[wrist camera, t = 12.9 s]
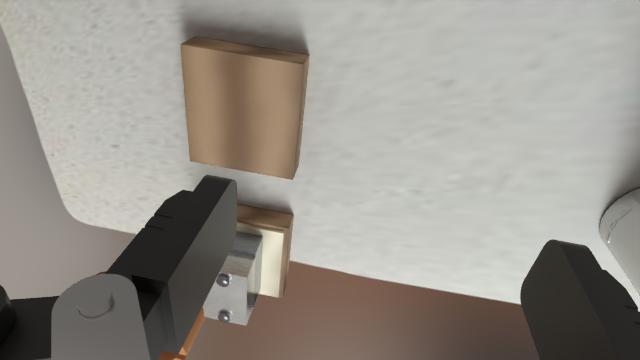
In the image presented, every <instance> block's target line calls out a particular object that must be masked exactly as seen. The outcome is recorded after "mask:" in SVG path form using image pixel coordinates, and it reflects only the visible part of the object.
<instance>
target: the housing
mask: <svg viewBox="0 0 640 360" xmlns="http://www.w3.org/2000/svg"><path fill="white" fill-rule="evenodd" d="M262 248H263V236H261V235H256V234H251V233H246V232H240V231H236V236H235V240H234V243H233V246H232V248H231V250H230V252H229V254H228V256H227V258H226V260H225V262H224V264H223V266H222V268H221V270H220V272H219V274H218V276H217V278H216V280H215V282H214V284H213V286H212V288H211V290H210V292H209V294H208V296H207V298H206V300H205V302H204V304H203V309H204V317H208V318H212V319H217V320H220V321H221V322H224V323H227V322H232V323H237V324H241V325H247V322H248V319H249V316H250V313H251V311H252V308H253V307H254V305H255V302H256V300H257V297H258V294H259V291H260V289H261V269H262Z"/></svg>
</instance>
